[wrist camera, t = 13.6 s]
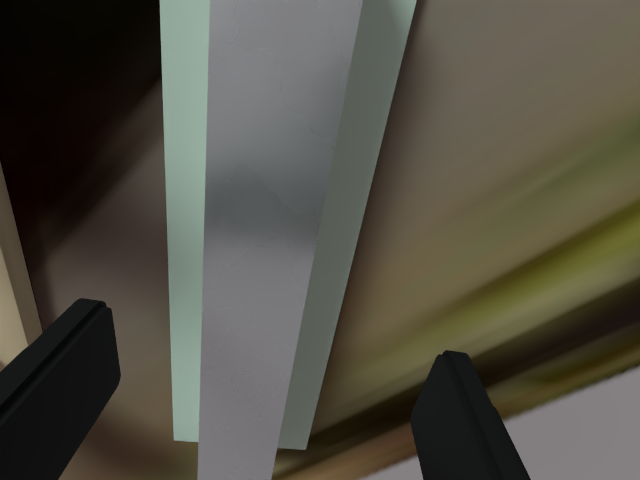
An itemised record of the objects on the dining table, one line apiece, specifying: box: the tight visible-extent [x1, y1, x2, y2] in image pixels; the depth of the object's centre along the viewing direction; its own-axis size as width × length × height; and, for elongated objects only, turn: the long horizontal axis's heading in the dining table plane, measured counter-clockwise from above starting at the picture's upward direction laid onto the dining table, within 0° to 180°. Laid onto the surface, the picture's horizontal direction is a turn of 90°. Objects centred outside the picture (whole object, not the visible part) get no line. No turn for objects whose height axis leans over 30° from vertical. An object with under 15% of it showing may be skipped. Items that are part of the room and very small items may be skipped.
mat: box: [160, 0, 417, 450], centre depth 16 cm, size 8×26×1 cm, turn 170°
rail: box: [198, 0, 363, 480], centre depth 14 cm, size 24×4×4 cm, turn 170°
